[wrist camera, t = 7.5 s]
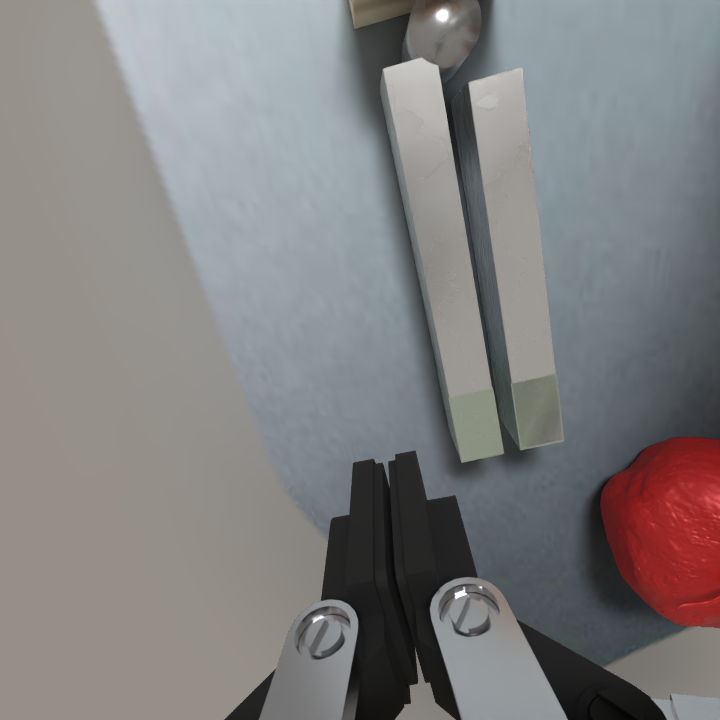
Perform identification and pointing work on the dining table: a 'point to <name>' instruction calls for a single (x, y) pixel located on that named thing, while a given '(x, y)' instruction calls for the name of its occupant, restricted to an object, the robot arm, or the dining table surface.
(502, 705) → the robot arm
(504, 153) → the bar
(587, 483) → the dining table surface
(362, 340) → the dining table surface
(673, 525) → the pomegranate
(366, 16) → the hinge block
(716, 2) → the dining table surface
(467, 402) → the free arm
